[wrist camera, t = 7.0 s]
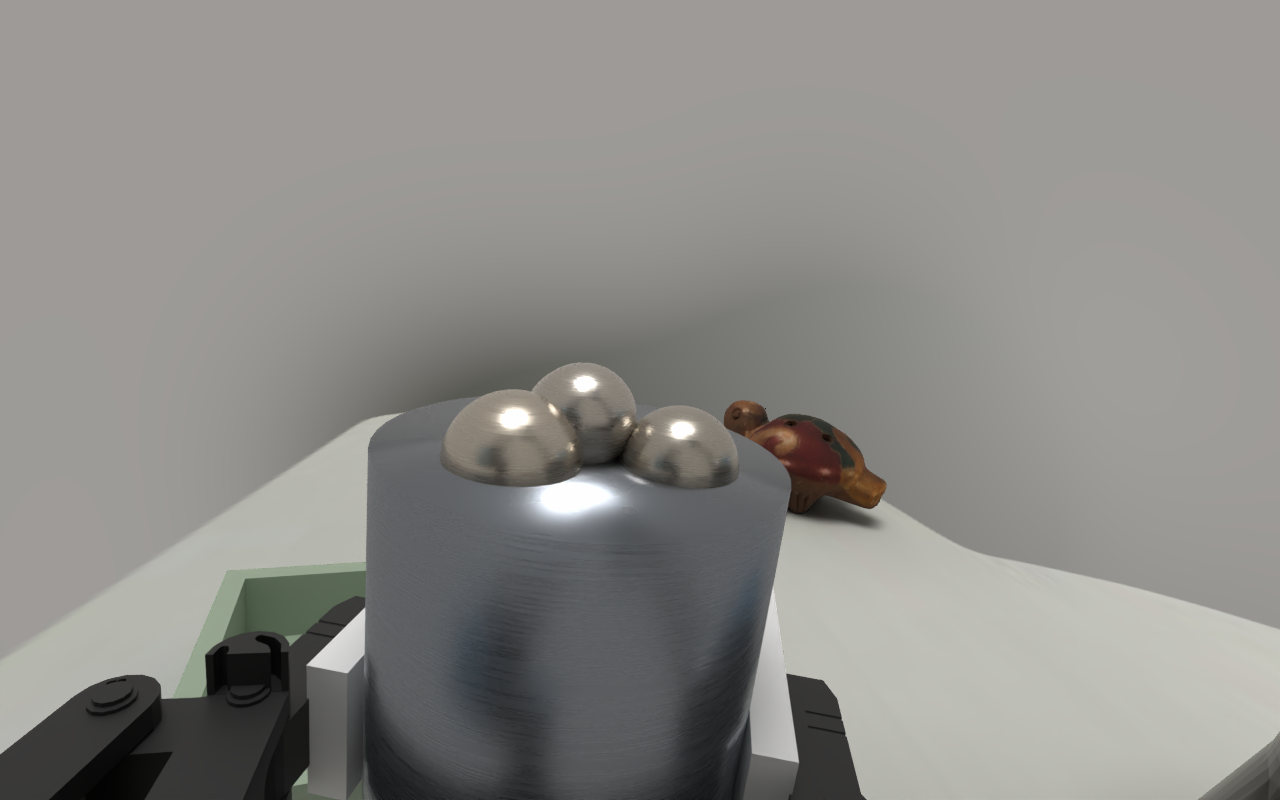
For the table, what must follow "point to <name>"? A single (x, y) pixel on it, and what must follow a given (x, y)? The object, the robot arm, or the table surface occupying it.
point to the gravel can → (564, 596)
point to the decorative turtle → (809, 456)
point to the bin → (273, 619)
